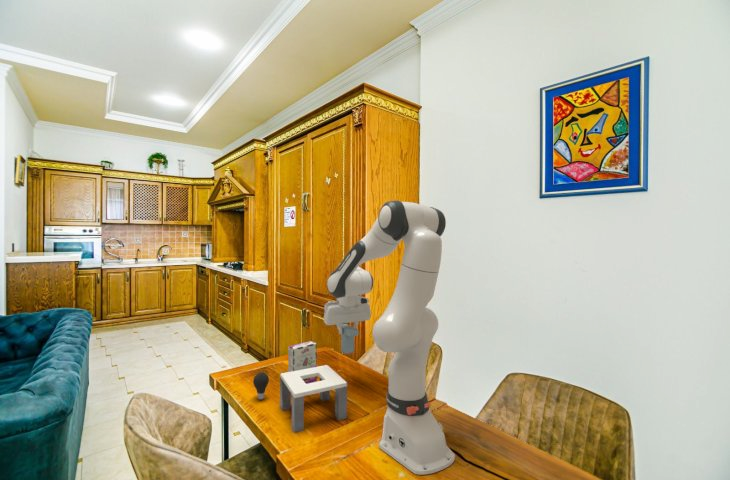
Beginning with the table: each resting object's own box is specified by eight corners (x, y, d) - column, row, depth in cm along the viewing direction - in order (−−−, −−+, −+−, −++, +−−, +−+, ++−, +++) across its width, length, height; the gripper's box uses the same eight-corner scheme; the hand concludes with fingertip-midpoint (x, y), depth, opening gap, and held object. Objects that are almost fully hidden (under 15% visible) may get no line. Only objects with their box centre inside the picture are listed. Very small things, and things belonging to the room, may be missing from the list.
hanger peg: (358, 355, 132) (358, 330, 132) (349, 356, 130) (349, 331, 130) (345, 346, 142) (345, 323, 142) (337, 348, 140) (337, 324, 140)
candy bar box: (310, 378, 143) (311, 340, 143) (317, 381, 139) (317, 343, 139) (287, 385, 135) (287, 345, 135) (293, 389, 132) (293, 348, 132)
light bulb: (264, 403, 120) (264, 376, 120) (250, 402, 121) (250, 375, 121) (271, 396, 126) (271, 370, 126) (258, 395, 127) (258, 369, 127)
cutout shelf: (346, 418, 110) (346, 382, 110) (294, 432, 102) (294, 394, 102) (326, 396, 126) (327, 364, 126) (280, 406, 118) (280, 373, 118)
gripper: (327, 303, 128) (327, 338, 128) (372, 299, 138) (372, 331, 138) (321, 300, 134) (321, 334, 134) (365, 296, 144) (365, 328, 143)
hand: (347, 333), depth 136 cm, fingers closed on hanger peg, 4 cm apart
